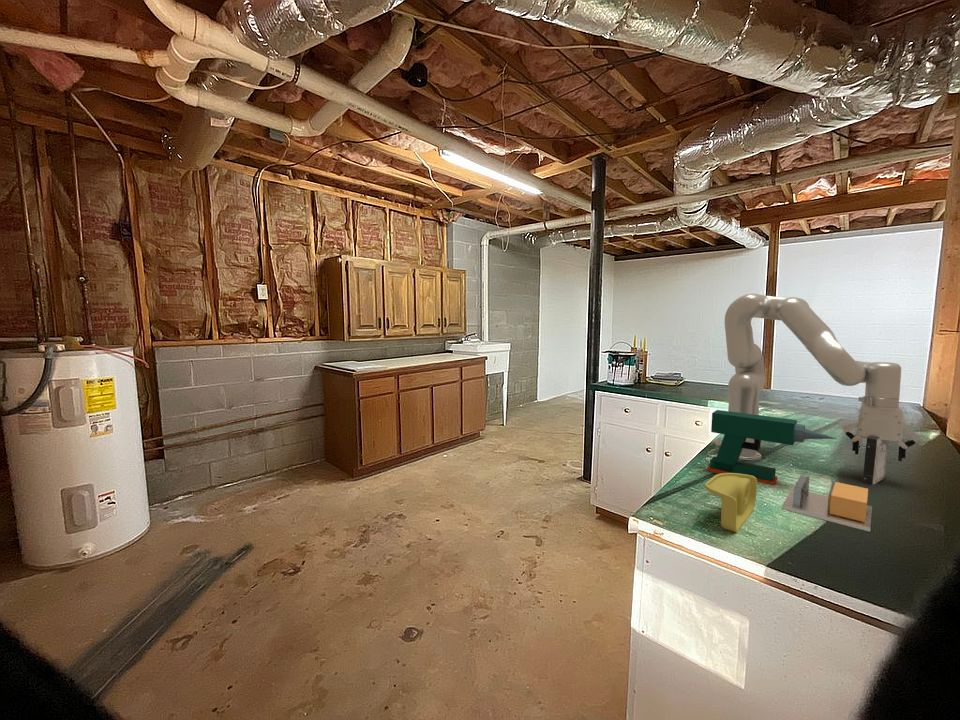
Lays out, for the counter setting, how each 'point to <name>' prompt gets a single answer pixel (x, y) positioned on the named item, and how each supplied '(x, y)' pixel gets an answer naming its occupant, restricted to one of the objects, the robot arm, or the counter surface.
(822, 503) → the vise base
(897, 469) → the counter surface
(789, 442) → the power tool
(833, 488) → the block
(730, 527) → the plastic component
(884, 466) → the disk drive
